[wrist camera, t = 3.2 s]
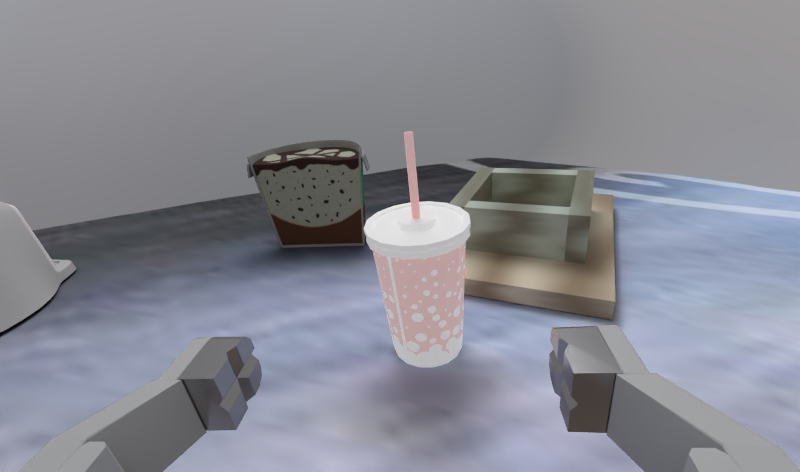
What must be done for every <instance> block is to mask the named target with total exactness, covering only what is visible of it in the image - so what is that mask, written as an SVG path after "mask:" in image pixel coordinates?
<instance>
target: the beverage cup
mask: <svg viewBox="0 0 800 472" xmlns="http://www.w3.org/2000/svg"><path fill="white" fill-rule="evenodd" d="M404 140H405V150H406V160H407V171H408V181H409V191H410V201H411V203H405V204H401V205H396V206H392V207H389V208H387V209H384V210H382V211H379V212H377V213H376V214H374V215H373V216H372V217H370V218H369V219H368V220H367V221H366V224H365V226H364V233H365V235H366V242H367V243H368V245H369V247H370V249H371V250H373V255H374V259H375V264H376V268H377V273H378V277H379V282H380V286H381V290H382V295H383V299H384V304H385V308H386V313H387V317H388V322H389V326H390V331H391V335H392V339H393V344H394V348H395V350H396V353H397V355H398V357H400V358H401V359H402V360H403V361H405V362H406V363H407V364H410V365H414V366H417V367H437V366H440V365H443V364H446V363H448V362H450V361H451V360H452V359H454V358H455V357H456V356H458V354H459V352H460V350H461V348H462V340H463V310H464V280H465V251H466V240H467V239H468V238H469V237H470V230H469V229H470V227H471V222H470V216H469V213H467V212H466V211H465V210H463V209H462V208H461V207H458V206H455V205H451V204H448V203H442V202H430V201H426V202H419V196H418V184H417V173H416V162H415V151H414V141H413V132H412V131H407V132H404Z"/></svg>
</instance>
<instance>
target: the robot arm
mask: <svg viewBox="0 0 800 472" xmlns="http://www.w3.org/2000/svg"><path fill="white" fill-rule="evenodd" d="M75 270H76V267H75V266H74V264H73V263H72V262H71V261H69V260H51V258H50V257H49V255H48V254H47V252H46V251H45V249H44V248H43V246H42V245H41V243H40V242H39V240H38V239H37V237H36V236H35V234H34V233H33V231H32V230H31V229H30V227H29V225H28V224H27V222H26V221H25V219H24V218H23V216H22V215H21V214H20V212H19V211H18V209H17V208H16V207H14V206H13V205H10V204H7V203H3V202H0V332H2V331H4V330H6V329H8V328H10V327H11V326H13V325H15V324H17V323H18V322H20V321H22V320H23V319H25V318H26V317H28V316H29V315H31V314H32V313H34V312H35V311H37V310H38V309H39V308H41V307H42V306H43V305H44V304H45V303H47V302H48V301H49V300H50V299H51V298H52V297H53V296H54V294H55V293H56V291H57V290H58V287H59V285H60V284H61V282H62V281H63V280H64V279H66V278H67V277H68V276H70V275H71V274H72V273H73V272H74V271H75ZM550 341H551V344H552V346H553V349H554V350H553V351H552V352H551V353H550V354H549V368H550V377H551V381H552V385H553V388H554V392H555V393H556V394H557V395H559V396H560V410H561V413H562V416H563V419H564V422H565V424H566V427H567V430H568V432H596V433H607V436H608V437H610V438H611V439H612V440H613V441H614V442H615V443H616V444H617V445H618V446H619V447H620V448H621V449H622V450H623V451H624V452H625V453H626V454H627V455H628V456H629V457H630V458H631V459H632V460H633V461H634V462H635V463H636V464H637V465H638V466H639V467H640V468H641V469H642V470H643V471H645V472H800V470H799V469H798V468H797V467H796V465H795V464H794V463H793V462H792V461H791V460H790V458H789V457H788V456H787V455H786V454H785V452H784V451H783V450H782V449H781V448H780V447H779V446H777V445H775V444H774V443H772V442H770V441H769V440H767V439H765V438H764V437H762V436H760V435H759V434H757V433H755V432H754V431H752V430H750V429H749V428H747V427H745V426H744V425H742V424H740V423H739V422H737V421H735V420H734V419H732V418H730V417H729V416H727V415H725V414H724V413H722V412H720V411H719V410H717V409H715V408H714V407H712V406H710V405H709V404H707V403H705V402H704V401H702V400H700V399H699V398H697V397H695V396H694V395H692V394H690V393H689V392H687V391H685V390H684V389H682V388H680V387H679V386H677V385H675V384H674V383H672V382H670V381H669V380H667V379H665V378H664V377H662V376H660V375H659V374H657V373H649V371H648V370H647V368H646V367H645V365H644V364H643V362H642V361H641V359H640V358H639V356H638V354H637V353H636V351H635V350H634V348H633V347H632V345H631V344H630V342H629V341H628V339H627V338H626V336H625V335H624V333H623V331H622V330H621V328H620V327H619V326H617V325H598V326H586V327H558V328H552V331H551V338H550ZM253 350H254V346H253V343H252V341H251V339H250V338H247V337H198V338H196V339H193V340H192V341H191V342H190V343H189V344H188V346H187V347H186V348H185V349H184V350H183V351H182V353H181V354H180V355H179V356H178V357H177V358H176V359H175V361H174V362H173V363H172V364H171V365H170V366H169V368H168V369H167V370H166V371H165V372H164V373H163V375H162V376H161V377H160V378H159V379H158V380H152V381H150V382H149V383H147V384H145V385H144V386H142V387H140V388H138V389H137V390H135V391H133V392H132V393H130V394H128V395H126V396H125V397H123V398H121V399H120V400H118V401H116V402H115V403H113V404H111V405H109V406H108V407H106V408H104V409H103V410H101V411H99V412H97V413H96V414H94V415H92V416H91V417H89V418H87V419H85V420H84V421H82V422H80V423H79V424H77V425H75V426H73V427H72V428H70V429H68V430H67V431H65V432H63V433H61V434H60V435H58V436H56V437H55V438H53V439H51V440H50V441H49V442H48V443H47V444H46V445H45V446H44V447H43V448H42V449H41V450H40V451H39V452H38V453H37V454H36V455H35V456H34V457H33V458H32V459H31V460H30V461H29V462H28V463H27V464H26V465H25V466H24V467H23V468H22V469H21V470H20V471H19V472H163V471H164V470H165V469H166V468H167V467H168V466H169V465H171V464H172V463H173V462H174V461H175V460H176V459H177V458H178V457H179V456H181V455H182V454H183V453H184V452H185V451H186V450H187V449H188V448H189V447H191V446H192V445H193V444H194V443H195V442H196V441H197V440H198V439H199V438H201V437H202V436H203V435H204V434H205V433H206V431H211V430H237V428H238V426H239V424H240V422H241V420H242V419H243V417H244V415H245V413H246V411H247V409H248V407H247V402H246V401H248V400H249V399H250V398H252V397H253V396H254V395H255V394H256V392H257V390H258V388H259V386H260V382H261V377H262V372H261V365H260V362H259V360H258V359H257V358H255V357H254V356H253V355H252V352H253Z"/></svg>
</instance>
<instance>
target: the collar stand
mask: <svg viewBox="0 0 800 472" xmlns="http://www.w3.org/2000/svg"><path fill="white" fill-rule="evenodd" d="M594 177H595V171H585V170H548V169H512V168H480V169H479V170H478V172H477V173H476V174H475V175H474V176H473V177H472V178H471V180H470V181H469V182H468V183H467V184H466V185H465V186H464V187H463V189H462V190H461V191H460V192H459V193H458V194H457V195H456V197H455V198H454V199H453V200H452V201H451V202H450V203H449V204H451V205H455V206H458V207H461V208H462V209H463V210H465V211H466V212H467V213H469V216H470V222H471V227H470V229H469V230H470V237H469V238H468V239H467V240H466V251H465V280H464V294H466V295H471V296H477V297H483V298H489V299H494V300H500V301H506V302H512V303H518V304H523V305H529V306H535V307H541V308H546V309H552V310H558V311H564V312H570V313H575V314H581V315H587V316H593V317H598V318H604V319H610V320H612V319H613V313H614V308H615V264H614V225H613V195H605V194H593V188H594Z"/></svg>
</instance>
